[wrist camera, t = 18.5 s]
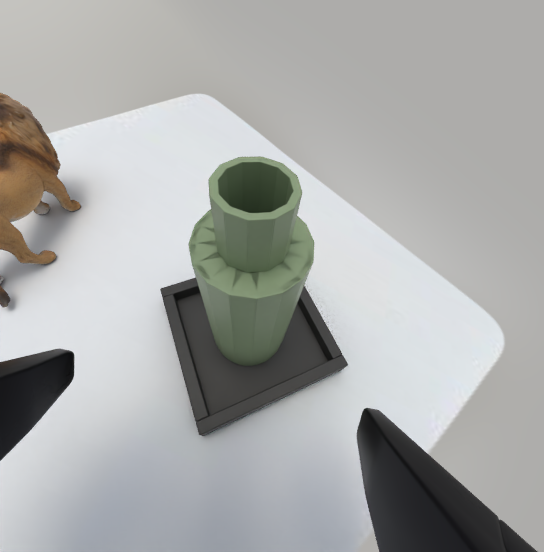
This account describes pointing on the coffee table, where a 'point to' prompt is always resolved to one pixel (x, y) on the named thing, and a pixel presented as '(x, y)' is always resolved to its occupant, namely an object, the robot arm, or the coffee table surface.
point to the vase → (251, 256)
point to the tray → (237, 378)
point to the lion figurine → (25, 179)
